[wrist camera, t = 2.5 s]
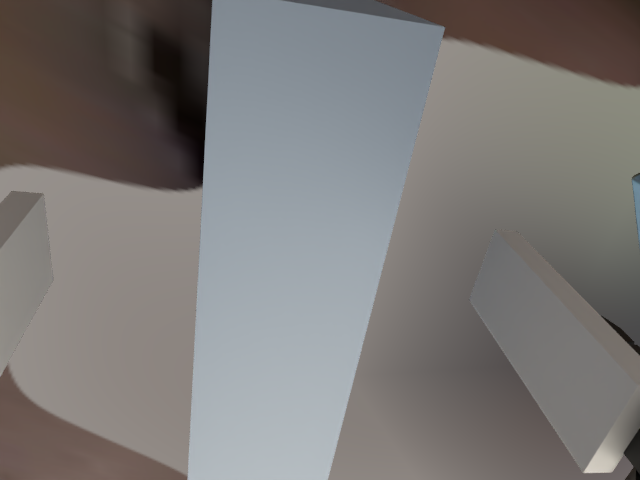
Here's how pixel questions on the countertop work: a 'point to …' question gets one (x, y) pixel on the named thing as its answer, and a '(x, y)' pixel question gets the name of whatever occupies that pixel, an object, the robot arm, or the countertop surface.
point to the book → (296, 221)
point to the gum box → (637, 200)
